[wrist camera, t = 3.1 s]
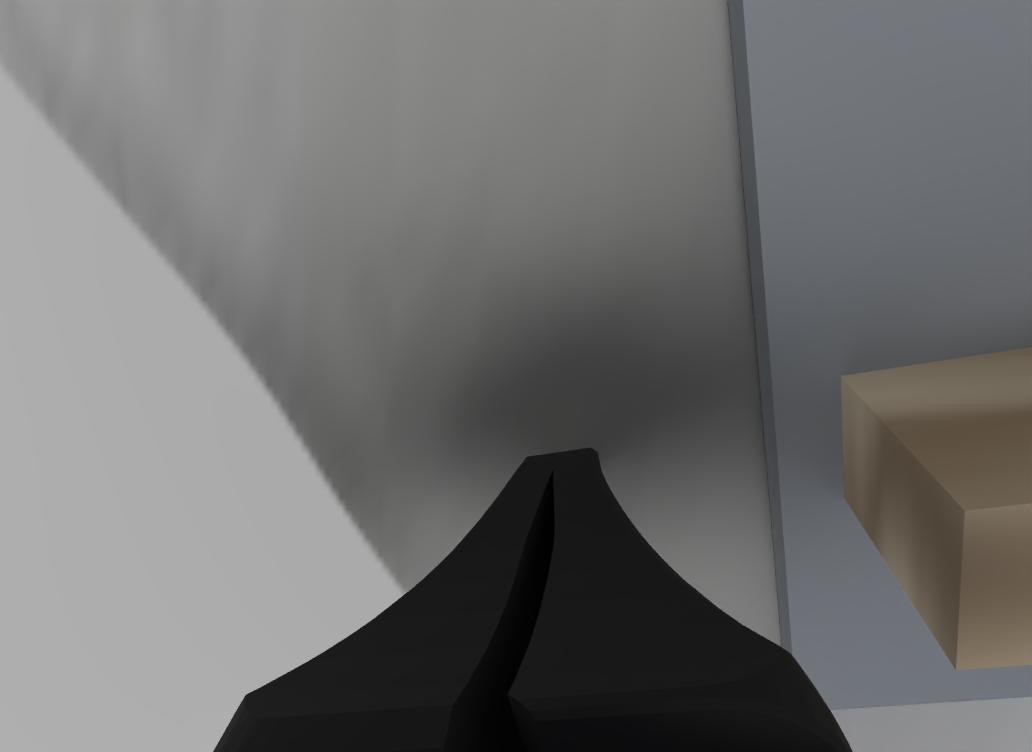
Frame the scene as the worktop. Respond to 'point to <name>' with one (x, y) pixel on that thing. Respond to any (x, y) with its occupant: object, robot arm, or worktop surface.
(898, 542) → the t block
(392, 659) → the robot arm
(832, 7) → the board
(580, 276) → the worktop surface
